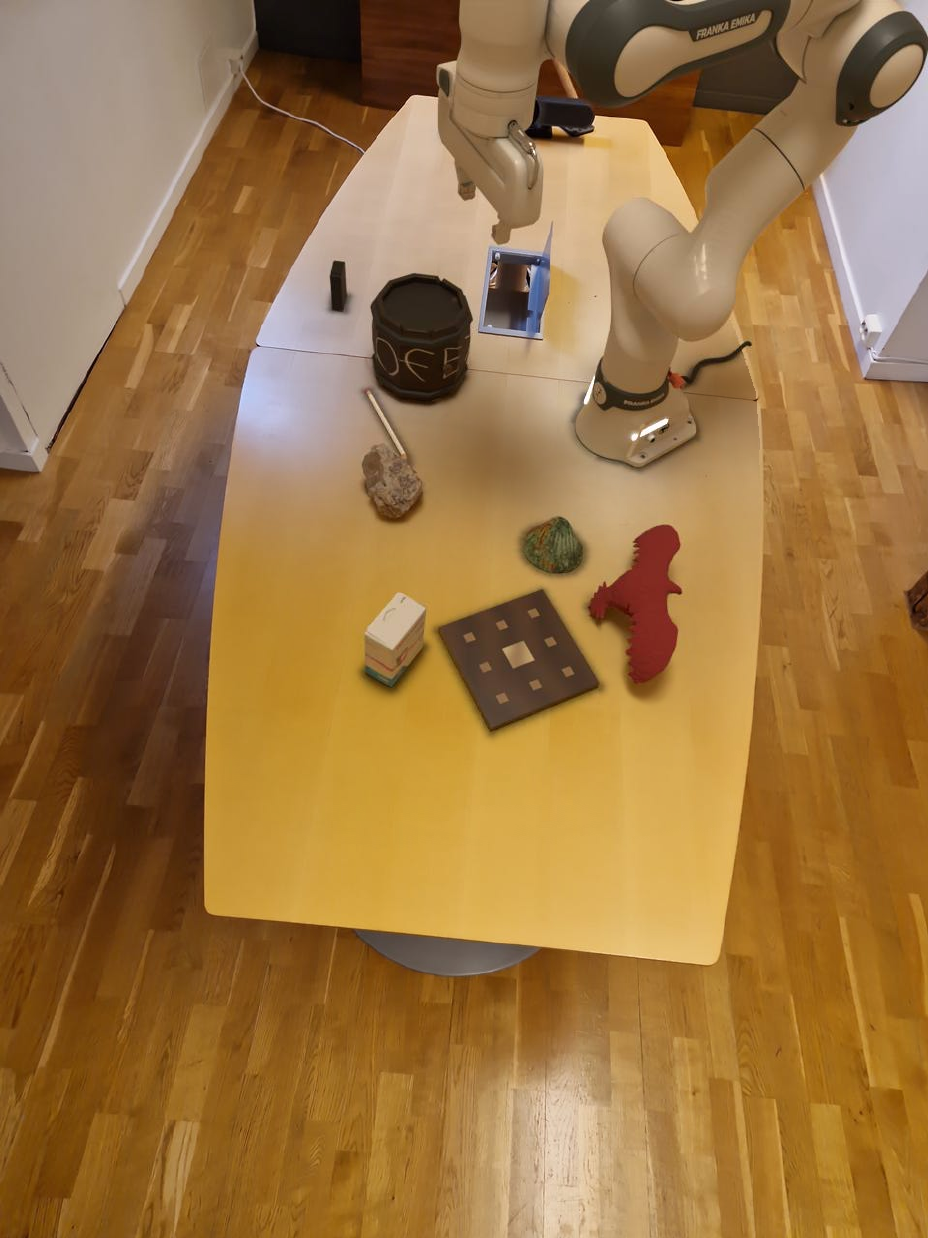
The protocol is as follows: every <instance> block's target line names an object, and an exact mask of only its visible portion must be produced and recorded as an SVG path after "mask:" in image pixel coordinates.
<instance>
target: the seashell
mask: <svg viewBox="0 0 928 1238" xmlns="http://www.w3.org/2000/svg"><path fill="white" fill-rule="evenodd" d="M523 540H524V542H523V546H524V547H523V552H524V553H525V554H524V556H525V558H526V559H527V560H528V562H530V563H531V564H532V565H533V566H534V567H537V568H539V569H540V570H543V571H545V572H548V573H551V574H552V573H554V574H562V573H569V572H572V571H573V570H575V569H576V568H578V566H579V565H581V562H582V561H583V555H584V548H583V545H582V543H581V542H580V539H579V538H578V537H577V536H576V533H575V531H574V528H573V526H572V524H571V523H570V522H569V520H568V519H566V518H565V517H563V516H559V515H557V516H553V517H551V518H550V519H547V520H546V521H545V522H543V523H542V524H540V525H537V526H535V527H532V528H531V529H529V530H528V532H526V535H525V537H524V538H523Z"/></svg>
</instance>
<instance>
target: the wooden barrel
mask: <svg viewBox="0 0 928 1238" xmlns="http://www.w3.org/2000/svg"><path fill="white" fill-rule="evenodd" d="M369 309H370V313H371V316H372V321H371V339H372V340H371V341H372V346H373V354H372V355H371V360H372V364H373V369H374V373H375V376H376V377H375V378H376V380H377V382H379V383H380V384H381V385H382V387H384V389H386V390H388V391H389V392H390V393H392V394H393V395H395V396H396V397H398V398H399V399H400V400H403V401H411V402H412V401H413V402H421V403H427V404H428V403H432V402H434V401H436V400H439V399H442V398H445V397H447V396H450V395H452V394H453V392H454V391H456V390H457V387H459V385H460V383H461V382H462V380H463V379H464V377H465V375H466V374H467V372H468V370H469V366H468V360H469V359H468V358H469V354H470V349H471V348H470V347H471V339H472V338H471V335H472V334H471V324H472V323H473V321H474V318H473V314H472V311H471V308H470V306H469V301H468V299H467V296H466V295H465V294H464V291H463V289H462V288H460V287H459V286H457V285H455V284H454V283H453V282H451V281H450V280H448V279H447V278H445V277H443V278H442V279H440V277H439V275H433V274H426V273H417V272H412V273H409V274H405V275H402V276H399V277H396V278H392V279H389V280H388V281H387V282H386V284H385V285H384V286H383V287H382V289H381V290H380V291H379V292H378V294H377V295H376V297H375V298H374V300H373V301H372V302H371V303H370V307H369Z"/></svg>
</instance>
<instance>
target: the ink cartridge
mask: <svg viewBox="0 0 928 1238" xmlns="http://www.w3.org/2000/svg"><path fill="white" fill-rule="evenodd" d="M329 286H330V297H331V310H335V311H344V310H345V305H346V302H347V298H348V289H347V288H348V287H347V271H346V261H341V260H333V261H332V265H331V268H330V272H329Z"/></svg>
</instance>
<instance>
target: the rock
mask: <svg viewBox="0 0 928 1238" xmlns="http://www.w3.org/2000/svg"><path fill="white" fill-rule="evenodd" d="M361 469H362V474H363V475H364V477H365V485H366V489H367V491H368V492H367V495H368V496H369V498H372V499H373V500H374V503H375V504H376V509H377V512H378V513H379V514H380V515H382V516H385V517H389V518H390V519H391V518H393V519H397V518H401V517H402V516H403V515H404V513H406V512H408V511H409V510H410V509H411V507H412V506H413V505H414V504H416V502H417V500H418V499H419V497H420V496H421V495H422V494H423V488H424V487H425V485H426V483H425V481H424V480H422V479H421V478H420V477H419V475H418V474H417V470H415V469H414V468H413V465H412V464H411V463H409V460H408V457H407V458H406V457H404V456H402V455H399V454H398V453H396V451H395V450H393V449H391V448H390V447H389V446H388V445H387V444H385V443H383V442H382V443H380V444H373V445H371V447H370V451H369V452H367V453H366V454H365V455H364V456H363V460H362V462H361Z"/></svg>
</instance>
